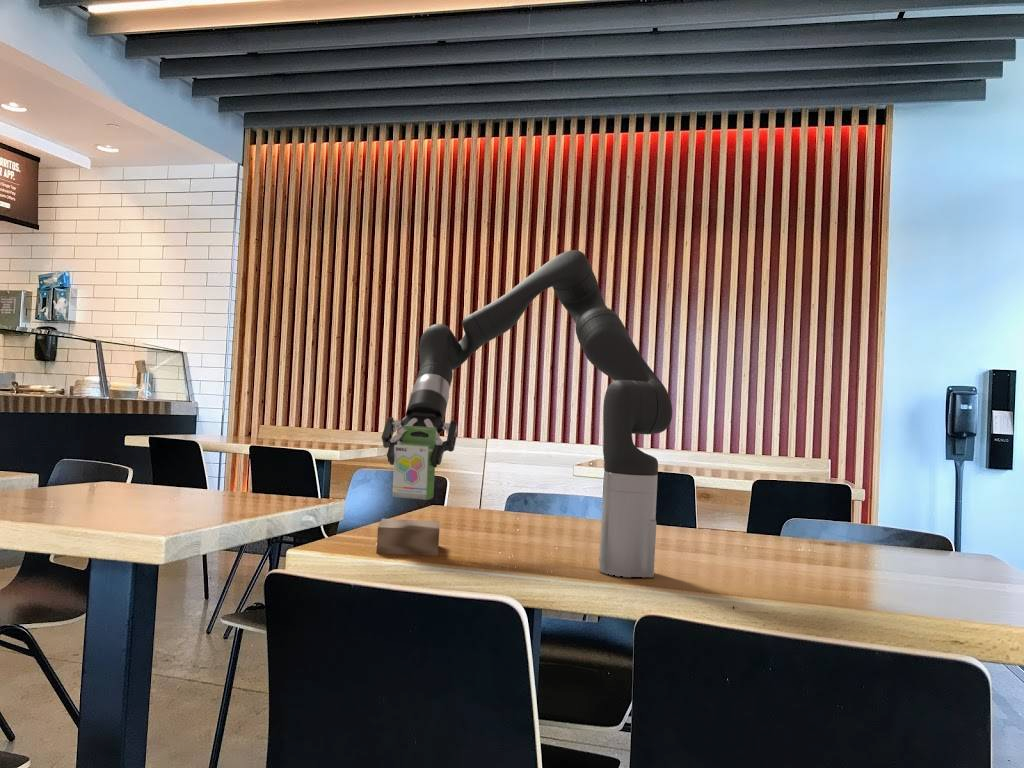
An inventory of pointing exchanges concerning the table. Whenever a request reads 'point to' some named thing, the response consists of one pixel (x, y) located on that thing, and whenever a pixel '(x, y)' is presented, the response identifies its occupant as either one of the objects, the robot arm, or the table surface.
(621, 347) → the robot arm
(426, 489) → the ink box
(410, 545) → the walnut block
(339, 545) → the table surface
